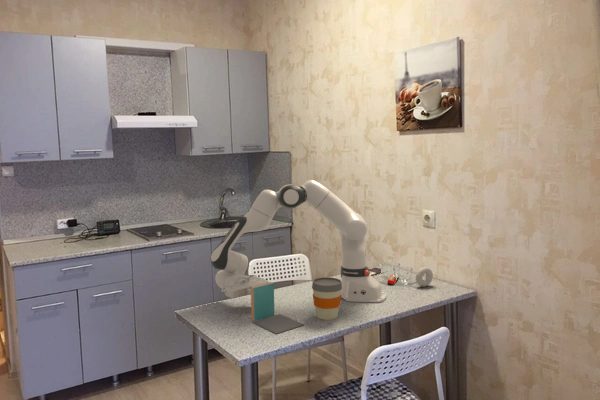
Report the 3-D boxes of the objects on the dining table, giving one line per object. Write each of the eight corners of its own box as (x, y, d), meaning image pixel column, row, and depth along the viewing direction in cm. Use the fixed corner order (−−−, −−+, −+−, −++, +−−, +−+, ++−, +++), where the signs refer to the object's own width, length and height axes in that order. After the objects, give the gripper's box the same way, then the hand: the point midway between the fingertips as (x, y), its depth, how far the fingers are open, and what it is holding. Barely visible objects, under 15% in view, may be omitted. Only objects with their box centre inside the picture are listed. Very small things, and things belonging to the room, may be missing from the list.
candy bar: (393, 286, 253) (393, 280, 252) (386, 285, 254) (386, 279, 254) (399, 277, 268) (399, 272, 267) (392, 277, 269) (392, 271, 268)
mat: (252, 322, 204) (252, 321, 204) (279, 314, 213) (279, 313, 213) (276, 334, 192) (276, 333, 192) (304, 325, 201) (304, 324, 201)
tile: (251, 319, 208) (250, 286, 206) (270, 313, 214) (270, 281, 212) (254, 321, 206) (254, 288, 204) (274, 315, 212) (273, 283, 210)
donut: (418, 288, 247) (418, 269, 246) (413, 287, 250) (414, 267, 249) (434, 286, 251) (434, 266, 250) (429, 284, 254) (429, 265, 253)
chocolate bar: (388, 270, 279) (367, 276, 267) (388, 272, 280) (367, 278, 268) (375, 267, 286) (354, 273, 274) (375, 269, 286) (354, 275, 274)
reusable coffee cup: (318, 309, 219) (318, 276, 217) (345, 312, 214) (345, 278, 212) (307, 319, 207) (307, 283, 206) (336, 323, 203) (336, 287, 201)
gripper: (219, 283, 215) (236, 290, 205) (258, 274, 228) (276, 280, 218) (219, 297, 216) (237, 305, 205) (258, 287, 229) (276, 294, 218)
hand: (257, 292), depth 212 cm, fingers closed
